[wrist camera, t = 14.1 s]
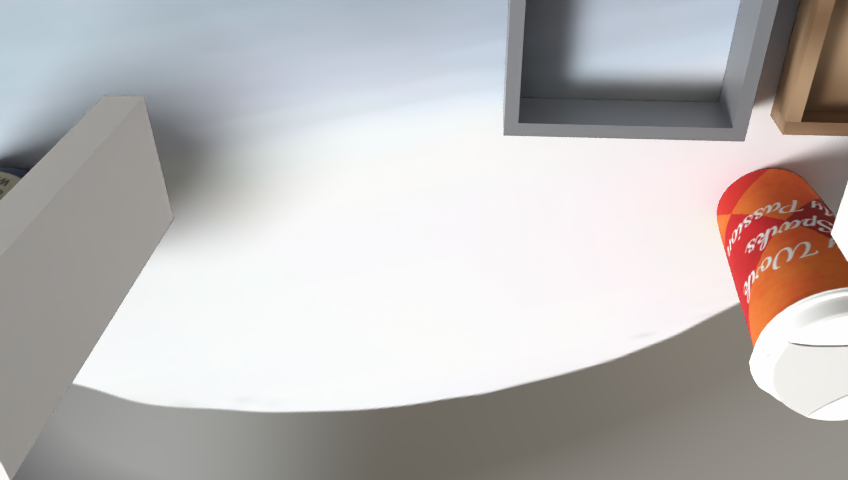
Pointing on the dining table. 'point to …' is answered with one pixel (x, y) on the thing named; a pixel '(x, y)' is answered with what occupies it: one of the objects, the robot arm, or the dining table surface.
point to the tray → (815, 72)
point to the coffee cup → (789, 289)
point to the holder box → (645, 115)
